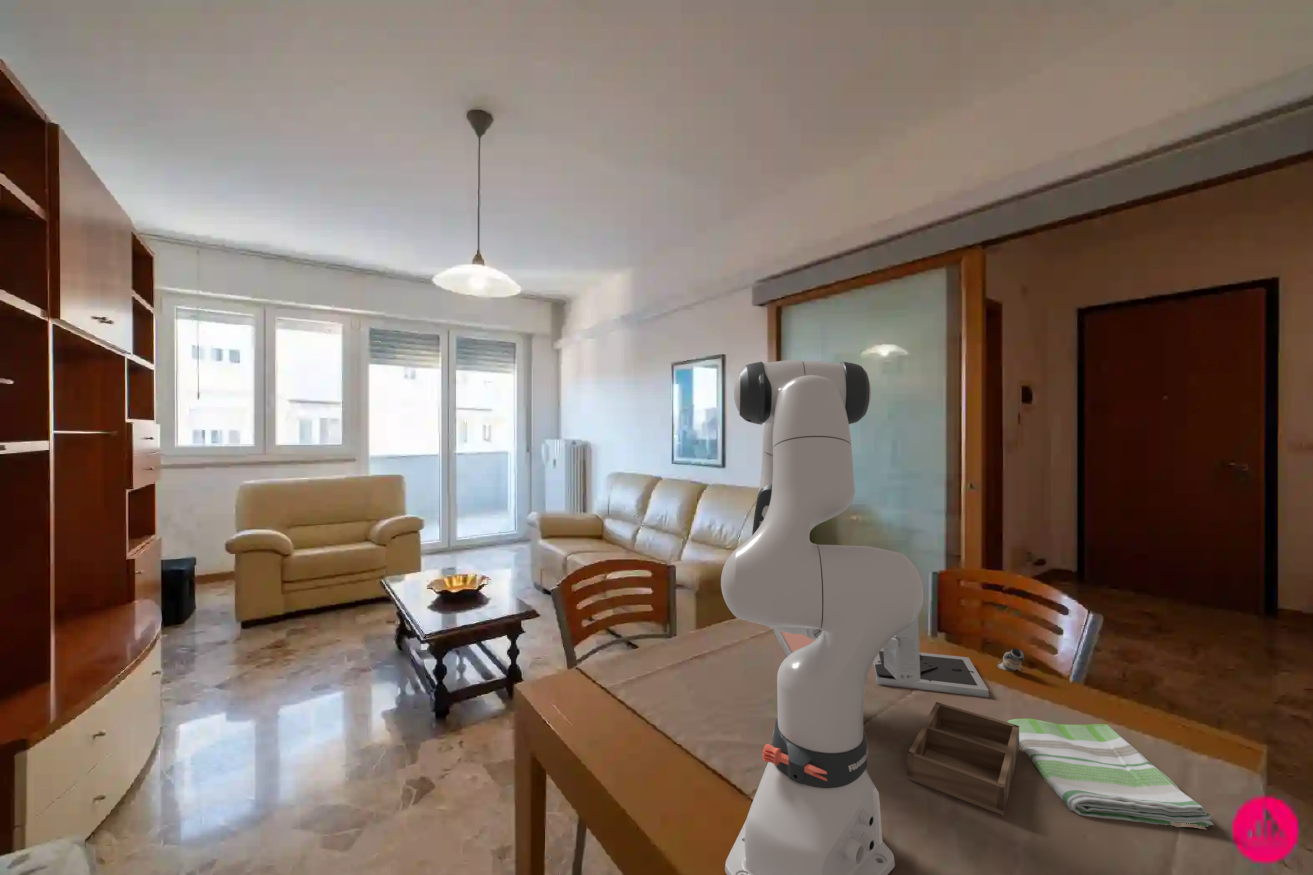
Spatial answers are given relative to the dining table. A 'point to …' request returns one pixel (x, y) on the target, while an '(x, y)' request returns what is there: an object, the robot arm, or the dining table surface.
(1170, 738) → the dining table surface
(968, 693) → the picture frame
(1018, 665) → the vase
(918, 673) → the skincare box
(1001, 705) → the dining table surface
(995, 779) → the walnut slot rack
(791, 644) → the notebook
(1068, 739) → the dish towel
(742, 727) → the dining table surface
